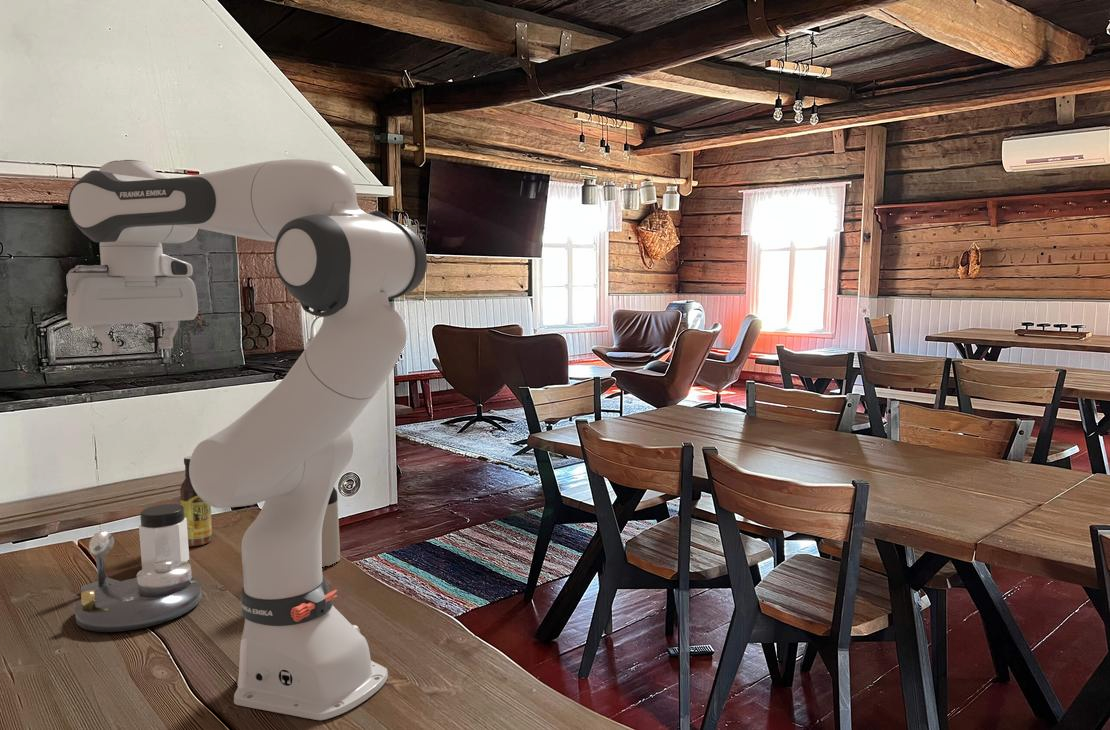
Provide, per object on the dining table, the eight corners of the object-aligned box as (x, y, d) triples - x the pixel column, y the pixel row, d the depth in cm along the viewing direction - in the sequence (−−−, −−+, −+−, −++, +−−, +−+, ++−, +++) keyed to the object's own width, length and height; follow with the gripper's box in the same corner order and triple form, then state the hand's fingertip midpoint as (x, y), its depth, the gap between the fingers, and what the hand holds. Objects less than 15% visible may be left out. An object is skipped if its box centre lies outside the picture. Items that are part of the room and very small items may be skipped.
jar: (145, 576, 153) (140, 518, 152) (139, 564, 160) (135, 508, 159) (193, 566, 159) (189, 510, 157) (185, 554, 165) (182, 501, 164)
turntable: (183, 575, 152) (181, 551, 151) (216, 607, 137) (214, 580, 136) (66, 605, 139) (63, 578, 138) (88, 643, 124) (86, 614, 123)
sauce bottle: (197, 549, 169) (191, 461, 166) (175, 546, 171) (169, 459, 168) (219, 539, 175) (214, 454, 173) (198, 536, 177) (192, 453, 175)
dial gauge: (130, 590, 147) (126, 531, 145) (104, 599, 142) (100, 539, 141) (107, 583, 150) (102, 525, 149) (81, 592, 146) (76, 533, 144)
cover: (202, 581, 144) (200, 558, 143) (158, 599, 136) (156, 575, 135) (172, 573, 148) (170, 550, 147) (127, 590, 140) (125, 566, 140)
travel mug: (314, 572, 155) (310, 486, 152) (293, 563, 160) (289, 479, 158) (347, 560, 161) (344, 477, 158) (326, 552, 166) (322, 471, 164)
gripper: (78, 264, 111) (85, 358, 113) (201, 265, 129) (206, 346, 131) (53, 265, 114) (61, 356, 116) (177, 266, 132) (182, 345, 134)
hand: (139, 351), depth 124 cm, fingers open, 8 cm apart
